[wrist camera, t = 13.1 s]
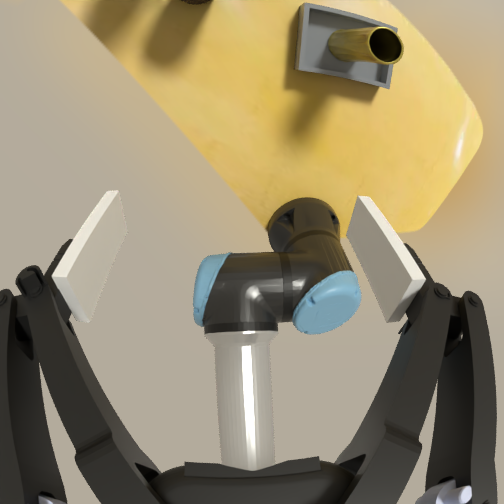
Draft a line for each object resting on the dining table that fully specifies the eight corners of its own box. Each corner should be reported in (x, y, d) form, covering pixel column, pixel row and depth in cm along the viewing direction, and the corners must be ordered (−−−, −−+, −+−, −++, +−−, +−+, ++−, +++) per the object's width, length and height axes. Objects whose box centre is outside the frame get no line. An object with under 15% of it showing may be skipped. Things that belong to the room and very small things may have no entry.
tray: (380, 86, 39) (389, 89, 36) (294, 69, 38) (298, 70, 35) (387, 28, 31) (397, 28, 29) (299, 6, 30) (304, 2, 27)
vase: (323, 54, 35) (358, 56, 24) (332, 24, 31) (370, 15, 20) (356, 67, 36) (400, 75, 25) (365, 37, 32) (411, 37, 21)
